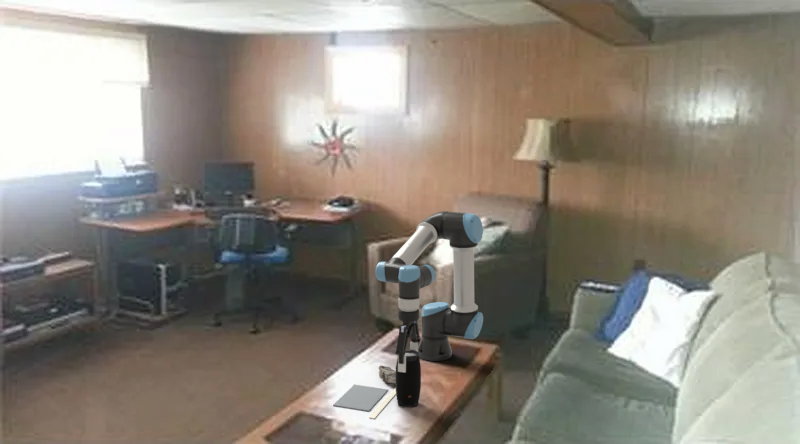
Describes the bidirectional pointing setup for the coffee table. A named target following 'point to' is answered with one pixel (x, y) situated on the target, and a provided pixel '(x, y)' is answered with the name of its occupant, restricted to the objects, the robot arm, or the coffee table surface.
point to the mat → (361, 397)
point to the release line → (383, 404)
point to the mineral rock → (387, 374)
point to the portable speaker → (409, 380)
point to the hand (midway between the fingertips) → (407, 365)
